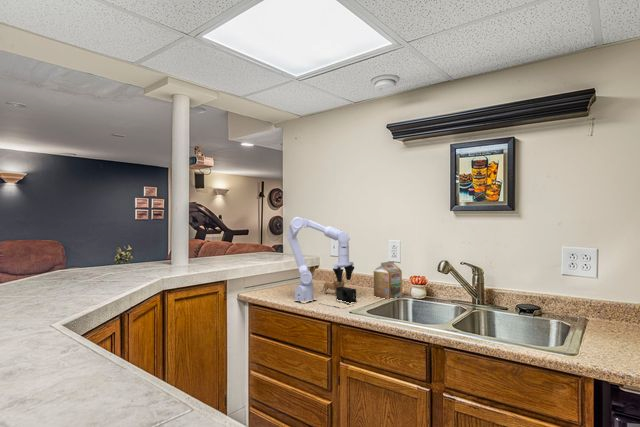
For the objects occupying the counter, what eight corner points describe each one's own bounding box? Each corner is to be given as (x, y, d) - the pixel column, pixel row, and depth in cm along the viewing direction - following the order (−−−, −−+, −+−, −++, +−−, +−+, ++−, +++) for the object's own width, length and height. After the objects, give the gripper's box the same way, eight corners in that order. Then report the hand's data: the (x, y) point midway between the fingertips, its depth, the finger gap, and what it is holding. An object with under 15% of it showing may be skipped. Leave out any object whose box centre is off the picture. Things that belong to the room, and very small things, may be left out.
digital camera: (334, 301, 196) (334, 287, 196) (342, 299, 199) (341, 286, 199) (348, 304, 188) (348, 290, 188) (356, 302, 191) (356, 289, 191)
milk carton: (389, 300, 195) (388, 263, 195) (374, 297, 203) (373, 261, 203) (402, 297, 202) (401, 261, 202) (386, 294, 210) (386, 260, 210)
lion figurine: (346, 294, 211) (345, 278, 211) (343, 296, 206) (342, 279, 206) (321, 292, 217) (321, 277, 217) (318, 294, 212) (318, 278, 212)
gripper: (341, 256, 190) (341, 283, 190) (357, 254, 201) (358, 279, 201) (330, 256, 194) (330, 282, 194) (347, 253, 205) (347, 278, 205)
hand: (344, 280), depth 198 cm, fingers open, 7 cm apart
